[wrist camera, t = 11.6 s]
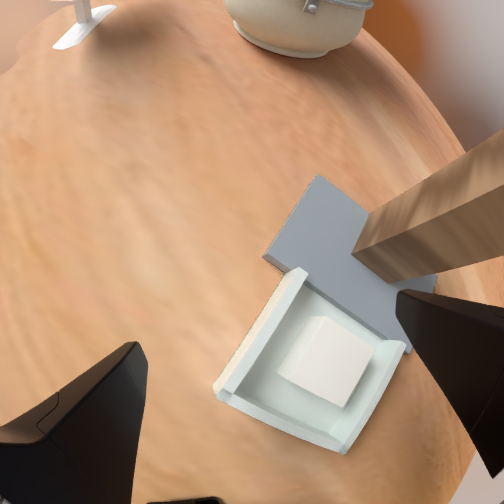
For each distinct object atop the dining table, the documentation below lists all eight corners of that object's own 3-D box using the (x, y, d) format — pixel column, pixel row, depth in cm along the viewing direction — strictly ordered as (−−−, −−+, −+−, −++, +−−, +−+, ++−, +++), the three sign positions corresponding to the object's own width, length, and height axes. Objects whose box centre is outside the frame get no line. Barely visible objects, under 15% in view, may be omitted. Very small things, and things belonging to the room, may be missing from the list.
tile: (324, 398, 20) (342, 407, 17) (275, 371, 19) (288, 380, 17) (354, 345, 21) (375, 348, 18) (309, 316, 21) (326, 316, 18)
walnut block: (387, 284, 22) (545, 241, 8) (350, 254, 22) (512, 179, 7) (403, 243, 23) (539, 183, 9) (369, 213, 23) (504, 127, 9)
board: (399, 352, 22) (409, 353, 21) (262, 257, 22) (267, 253, 20) (427, 278, 25) (437, 276, 23) (311, 181, 24) (318, 173, 23)
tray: (328, 441, 19) (345, 454, 16) (212, 386, 19) (215, 397, 16) (385, 343, 22) (406, 344, 19) (285, 273, 22) (299, 266, 19)
